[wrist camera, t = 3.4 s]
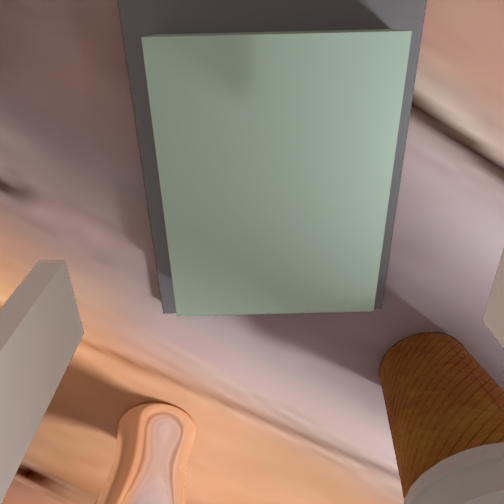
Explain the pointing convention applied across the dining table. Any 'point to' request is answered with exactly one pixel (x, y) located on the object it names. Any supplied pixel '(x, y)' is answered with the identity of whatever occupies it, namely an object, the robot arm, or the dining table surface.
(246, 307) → the board
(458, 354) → the disposable coffee cup
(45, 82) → the dining table surface
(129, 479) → the beer glass
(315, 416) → the dining table surface
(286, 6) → the rubber mat
